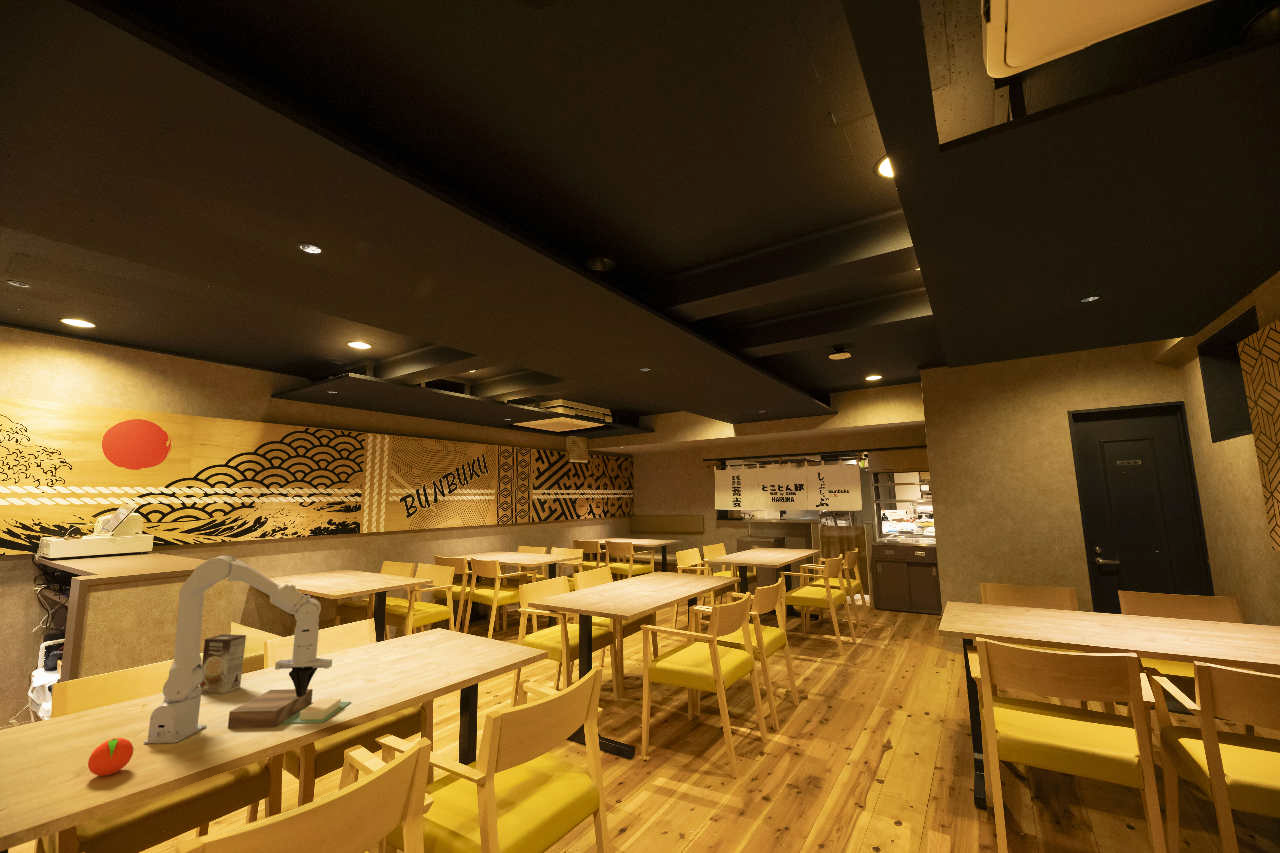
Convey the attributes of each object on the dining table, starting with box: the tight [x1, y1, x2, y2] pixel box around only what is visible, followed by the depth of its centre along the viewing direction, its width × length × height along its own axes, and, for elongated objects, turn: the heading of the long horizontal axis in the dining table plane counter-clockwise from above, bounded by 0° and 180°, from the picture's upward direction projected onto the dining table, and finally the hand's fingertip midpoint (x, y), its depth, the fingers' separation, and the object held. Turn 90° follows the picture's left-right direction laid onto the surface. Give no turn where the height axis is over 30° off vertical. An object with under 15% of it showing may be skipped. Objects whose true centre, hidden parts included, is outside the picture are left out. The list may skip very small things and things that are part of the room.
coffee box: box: [198, 633, 247, 695], centre depth 163 cm, size 9×6×16 cm
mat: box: [280, 701, 352, 725], centre depth 144 cm, size 14×11×1 cm
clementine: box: [87, 737, 134, 777], centre depth 112 cm, size 8×7×7 cm
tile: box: [299, 698, 342, 720], centre depth 143 cm, size 9×6×2 cm, turn 2°
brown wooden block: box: [227, 688, 314, 729], centre depth 142 cm, size 16×12×4 cm
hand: (301, 695), depth 143 cm, fingers closed
